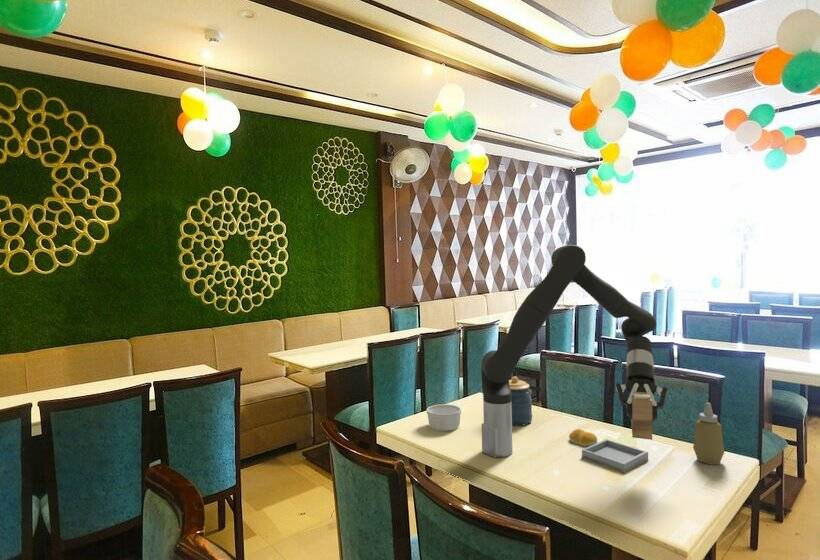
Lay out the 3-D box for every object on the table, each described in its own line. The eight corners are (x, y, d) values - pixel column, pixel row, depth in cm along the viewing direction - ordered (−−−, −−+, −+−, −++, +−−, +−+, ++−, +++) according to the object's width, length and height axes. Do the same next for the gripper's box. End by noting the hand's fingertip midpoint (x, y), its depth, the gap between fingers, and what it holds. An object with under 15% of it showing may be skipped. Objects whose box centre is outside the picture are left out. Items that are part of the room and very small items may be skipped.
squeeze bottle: (721, 458, 146) (721, 401, 145) (726, 468, 138) (726, 408, 138) (691, 454, 149) (691, 398, 148) (695, 464, 142) (694, 405, 141)
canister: (523, 428, 176) (522, 382, 175) (492, 422, 184) (492, 377, 184) (537, 419, 186) (537, 375, 186) (508, 413, 194) (507, 371, 194)
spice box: (652, 439, 130) (652, 397, 130) (632, 437, 132) (632, 395, 132) (651, 433, 135) (651, 392, 135) (631, 431, 137) (631, 391, 137)
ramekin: (420, 429, 178) (420, 411, 178) (437, 419, 189) (436, 402, 189) (451, 435, 171) (451, 416, 171) (467, 424, 182) (466, 406, 182)
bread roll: (590, 449, 156) (590, 437, 156) (566, 441, 162) (565, 430, 162) (602, 442, 161) (602, 431, 161) (578, 435, 168) (578, 424, 168)
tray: (624, 472, 137) (624, 464, 137) (582, 457, 149) (581, 449, 149) (648, 459, 146) (648, 451, 146) (606, 446, 157) (606, 439, 157)
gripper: (614, 359, 143) (614, 409, 132) (667, 362, 137) (672, 415, 126) (614, 372, 148) (614, 422, 137) (665, 376, 142) (670, 428, 131)
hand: (642, 418), depth 132 cm, fingers closed on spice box, 5 cm apart
